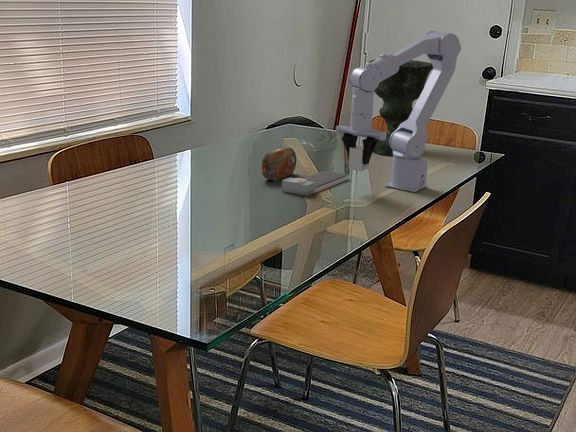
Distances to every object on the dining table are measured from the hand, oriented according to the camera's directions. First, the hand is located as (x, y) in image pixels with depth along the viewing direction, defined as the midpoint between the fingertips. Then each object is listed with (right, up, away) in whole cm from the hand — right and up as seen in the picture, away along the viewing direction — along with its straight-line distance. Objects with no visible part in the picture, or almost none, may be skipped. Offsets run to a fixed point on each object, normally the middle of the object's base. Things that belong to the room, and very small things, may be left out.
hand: (358, 162), depth 204 cm
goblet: (+17, +8, +53) cm, 57 cm away
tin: (-22, -4, +14) cm, 26 cm away
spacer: (0, -2, +1) cm, 2 cm away
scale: (-11, -6, +7) cm, 15 cm away
